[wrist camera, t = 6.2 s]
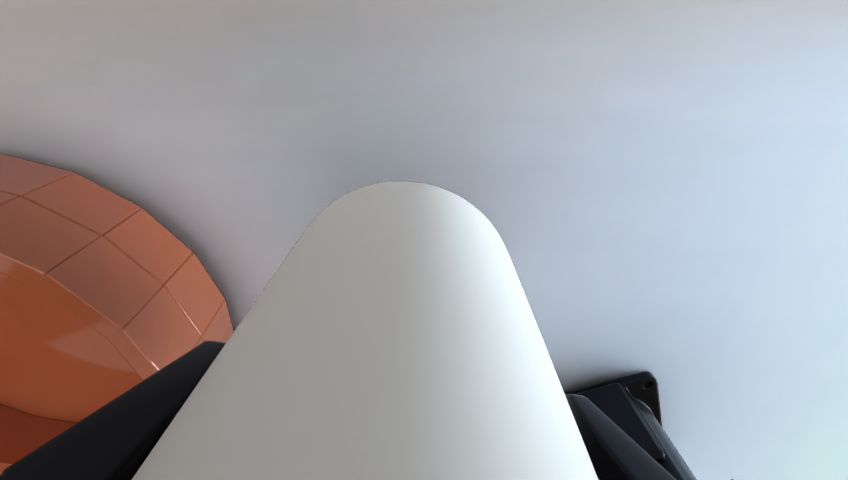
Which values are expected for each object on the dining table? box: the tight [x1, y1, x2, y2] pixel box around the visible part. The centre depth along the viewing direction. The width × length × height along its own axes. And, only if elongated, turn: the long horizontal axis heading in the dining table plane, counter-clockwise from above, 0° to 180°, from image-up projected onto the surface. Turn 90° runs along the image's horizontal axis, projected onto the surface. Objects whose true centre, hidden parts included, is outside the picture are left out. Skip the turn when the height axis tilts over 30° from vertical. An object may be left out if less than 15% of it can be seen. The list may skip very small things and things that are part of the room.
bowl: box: [0, 154, 234, 475], centre depth 16 cm, size 15×15×6 cm
